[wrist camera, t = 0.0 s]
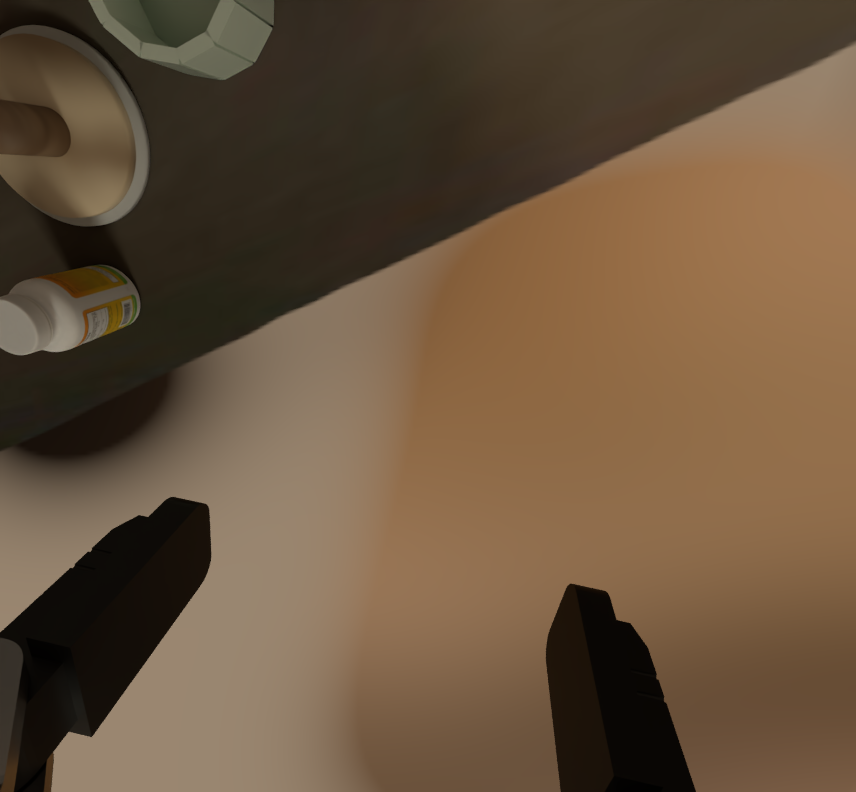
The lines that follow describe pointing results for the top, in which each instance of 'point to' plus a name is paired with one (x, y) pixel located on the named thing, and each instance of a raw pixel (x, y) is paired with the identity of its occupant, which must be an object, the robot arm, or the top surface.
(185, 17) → the bowl
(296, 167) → the top surface
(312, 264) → the top surface
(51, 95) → the lid
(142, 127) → the mat
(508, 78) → the top surface
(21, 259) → the top surface
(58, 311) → the supplement bottle
